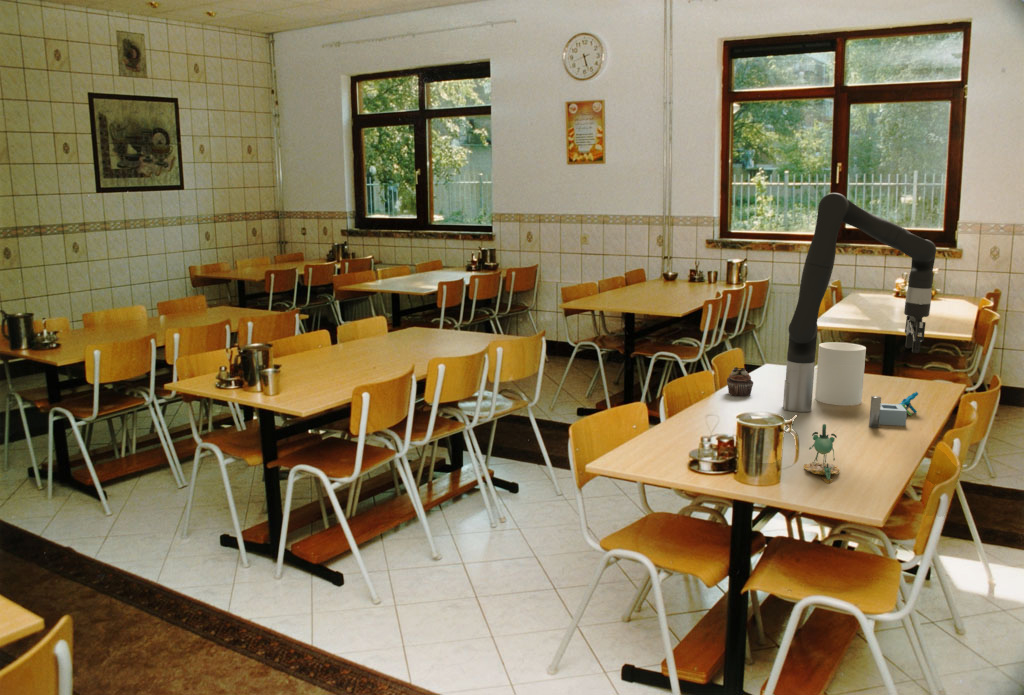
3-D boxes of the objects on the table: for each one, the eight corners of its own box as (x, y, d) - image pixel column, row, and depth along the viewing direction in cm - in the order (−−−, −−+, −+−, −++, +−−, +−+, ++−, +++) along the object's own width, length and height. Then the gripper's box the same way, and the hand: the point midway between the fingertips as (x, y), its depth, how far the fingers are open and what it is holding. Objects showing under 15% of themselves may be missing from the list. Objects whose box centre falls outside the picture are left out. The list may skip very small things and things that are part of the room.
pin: (869, 427, 288) (872, 397, 286) (868, 425, 291) (870, 395, 289) (879, 428, 288) (882, 398, 286) (877, 425, 290) (880, 396, 289)
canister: (854, 395, 331) (858, 342, 327) (867, 406, 316) (871, 351, 312) (810, 394, 333) (814, 341, 329) (820, 404, 317) (824, 349, 313)
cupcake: (754, 397, 327) (755, 371, 325) (727, 396, 328) (728, 370, 326) (751, 391, 336) (752, 365, 334) (725, 390, 337) (726, 364, 336)
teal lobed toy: (896, 402, 314) (918, 386, 308) (908, 415, 313) (931, 399, 307) (887, 413, 306) (910, 397, 300) (899, 426, 305) (923, 410, 299)
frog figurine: (799, 481, 238) (803, 426, 236) (804, 468, 254) (808, 417, 253) (837, 485, 234) (841, 430, 233) (840, 472, 251) (844, 420, 249)
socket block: (876, 424, 292) (877, 409, 291) (871, 417, 301) (872, 402, 300) (905, 425, 291) (907, 411, 290) (899, 418, 299) (901, 404, 298)
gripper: (900, 297, 297) (895, 345, 300) (911, 303, 283) (905, 353, 286) (924, 298, 295) (918, 346, 298) (936, 305, 282) (930, 355, 285)
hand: (912, 349), depth 292 cm, fingers open, 8 cm apart
